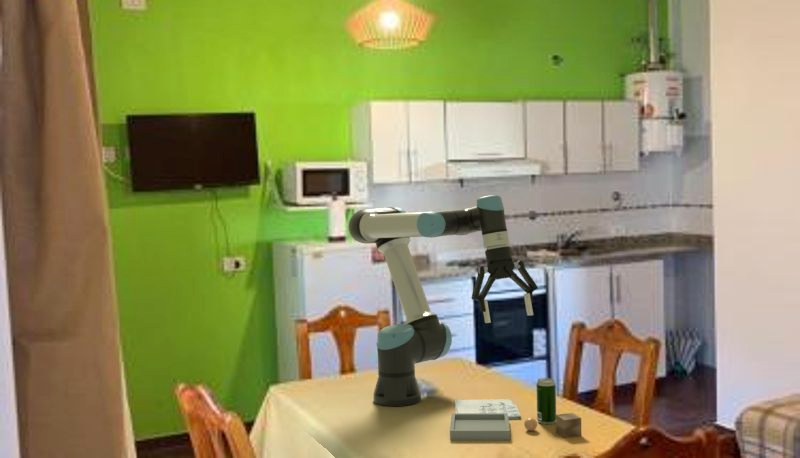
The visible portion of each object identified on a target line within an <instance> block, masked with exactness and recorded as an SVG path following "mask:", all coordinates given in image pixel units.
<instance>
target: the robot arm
mask: <svg viewBox="0 0 800 458" xmlns="http://www.w3.org/2000/svg"><path fill="white" fill-rule="evenodd" d="M348 232H349V235H350V236H351V237H352V238H353V240H354V241H356V242H357V243H360V244H366V245H367V244H375V246H376V249H377V251H378V252H379V253H381V254H383V256H384V258H385V261H386V264H387V268H388V271H389V273H390V276H391V278H392V282H393V285H394V289H395V290H396V293H397V296H398V300H399V302H400V305H401V307H402V308H401V309H402V311H403V315H404V317H405V321H404V323H399V324H391V325H388V326H385V327H383V328H381V329H380V330H379V331H378V333H377V338H376V339H377V341H376V347H377V369H378V370H377V371H378V373H377V374H378V376H377V381H376V384H375V387H374V391H373V403H374V404H376V405H379V406H380V405H381V406H386V407H405V406H406V407H407V406H411V405H415V404H418V403H420V402H421V400H422V392H421V391H422V390H421V389H420V386H419V383H418V380H417V378H416V371H415V370H416V366H415V364H420V363H424V362H428V361H436V360H437V359H440V358H443V357H444V356H446V355H447V354H448V353H449V351H450V350H451V346H452V342H453V340H452V338H453V337H452V332H451V329H450V326H448V325H447V324H446V323H445V322H443V321H440V320H439V317H438V314H436V313H435V312H432V311H431V307H430V305H429V302H428V300H427V297H426V294H425V292H424V288H423V285H422V283H421V280H420V276H419V274H418V271H417V268H416V264H415V263H414V260H413V257H412V254H411V252H410V249H409V244H410V242H411V238H418V237H419V238H421V237H422V238H423V237H424V238H429V239H430V238H437V237H445V236H446V237H447V236H468V235H469V234H474V233H478V232H481V236H482V237H481V238H482V242H483V248H484V249H486V250H485V251H484V254H485V259H486V266H478V267H477V270H476V271H477V276H476V280H475V283H474V286H473V287H474V288H473V290H472V293H471V300H473V301H477V302H478V305H479V312H480V313H483V319H484V323H485V324H489V323H492V322H491V315H490V309H489V304H488V300H487V299H486V297H487V295H488V294H489V292H490V290H491V288H492V286H493V284H494V283H495V281H497V280H502V279H508V278H509V279H510V280H512V281H513V282H514V283H515V284H516V285H517V286H518V287H519V288H521V289H522V290H523V291H524V292H525V293H523V298H524V304H525V311H526V316H534V311H533V305H532V304H534V302H535V301H534V295H533V293H534V291H536V290H538V288H539V287H538V285H537V284H536V282H535V280H534V279H533V278H532V276H531V274H530V273H529V272H528V271H527V269H526V268H525V264H524V261H523V260H517V261H515V262H514V261H513V256H512V251H511V247H510V246H508V245H510V239H509V232H508V228H507V222H506V215H505V208H504V204H503V200H502V197H501V195H497V194H492V195H485V196H482V197H479V198H477V199H476V206H473V207H469V208H463V209H461V208H460V209H449V210H432V211H431V210H430V211H429V210H428V211H418V212H414V211H413V212H407V211H406V210H404V209H403V208H400V207H393V206H387V207H381V208H380V207H378V208H366V209H365V208H364V209H359V210H358V211H356V212H355V213H353V214H352V216H350V219H349V221H348ZM514 268H516V270H518V272H519V274H520V276H521V277H522V279H521V278H520V277H519V276H518V274H517V273H516V272H515V271H514ZM487 272H488V274H489V276H488V277H487V281H485V282H486V283H485V284H484V286H483V282H484V278H485V274H486V273H487ZM523 279H524V280H523ZM482 286H483V288H482ZM485 299H486V300H485Z"/></svg>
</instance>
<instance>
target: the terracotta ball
mask: <svg viewBox="0 0 800 458" xmlns="http://www.w3.org/2000/svg"><path fill="white" fill-rule="evenodd" d="M523 426H524V428H525V429H526V430H527V431H529V432H533V431H536V429H537V427H538V421H537V420H536V419H535V418H533V417H528V418H526V419H525V420H524V423H523Z"/></svg>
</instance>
